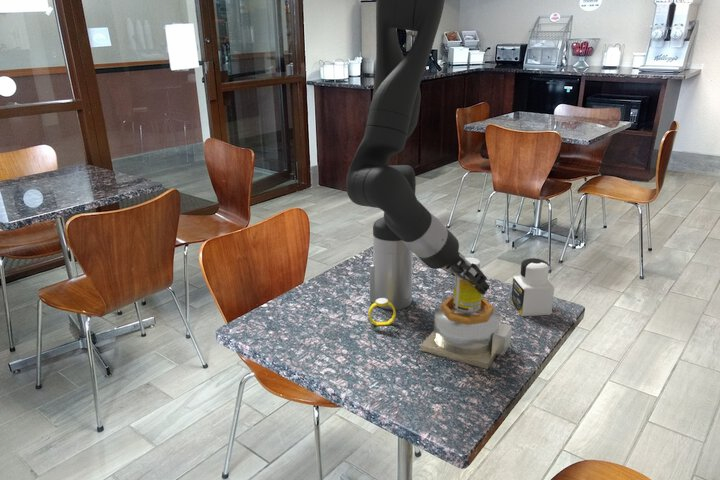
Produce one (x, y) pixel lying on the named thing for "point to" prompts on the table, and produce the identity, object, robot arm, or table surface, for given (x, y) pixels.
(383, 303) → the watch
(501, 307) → the table surface
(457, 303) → the supplement bottle
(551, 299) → the medicine bottle
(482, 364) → the octagonal rim cylinder base
